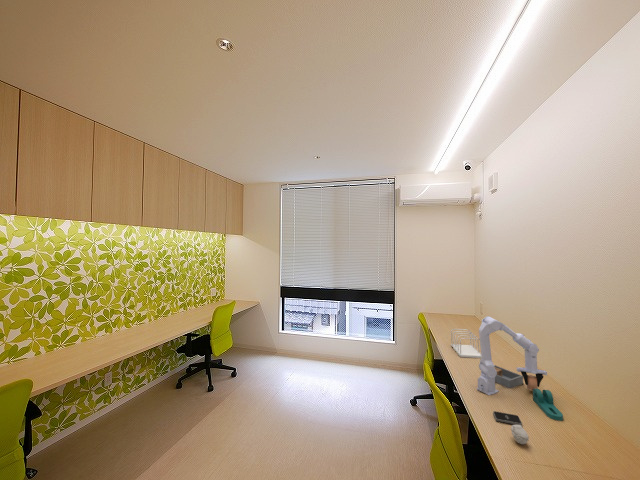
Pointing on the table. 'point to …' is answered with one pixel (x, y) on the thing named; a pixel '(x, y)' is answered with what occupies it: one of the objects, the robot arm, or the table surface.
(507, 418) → the external hard drive
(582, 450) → the table surface
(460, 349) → the file sorter
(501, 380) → the tote
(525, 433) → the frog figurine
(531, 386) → the terracotta cylinder
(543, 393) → the bracket
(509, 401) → the table surface
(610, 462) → the table surface
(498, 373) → the walnut cube
